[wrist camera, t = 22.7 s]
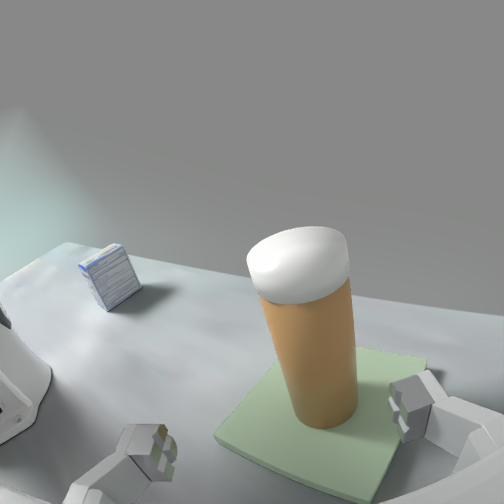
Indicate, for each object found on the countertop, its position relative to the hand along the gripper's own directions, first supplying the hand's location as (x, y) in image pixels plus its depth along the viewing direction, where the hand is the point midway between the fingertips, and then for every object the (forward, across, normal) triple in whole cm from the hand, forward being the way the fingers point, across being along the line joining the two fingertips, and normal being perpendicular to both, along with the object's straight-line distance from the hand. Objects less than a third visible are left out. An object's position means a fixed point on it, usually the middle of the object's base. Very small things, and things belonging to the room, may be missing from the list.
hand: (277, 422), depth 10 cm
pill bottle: (+10, -3, +10) cm, 14 cm away
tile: (+10, -3, +11) cm, 15 cm away
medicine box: (+39, +26, +9) cm, 48 cm away
